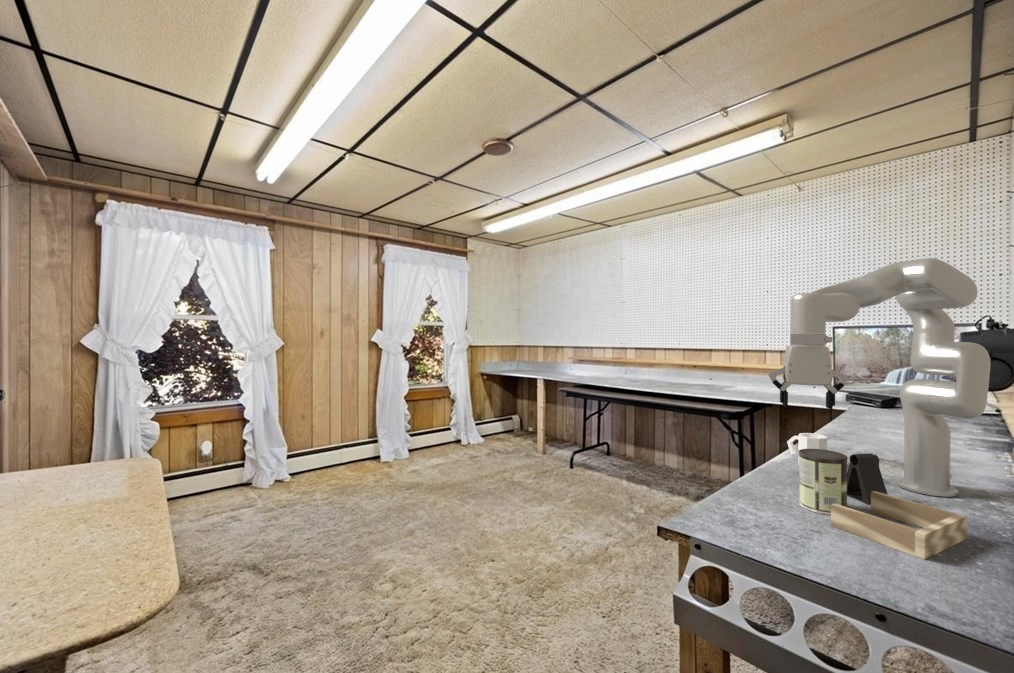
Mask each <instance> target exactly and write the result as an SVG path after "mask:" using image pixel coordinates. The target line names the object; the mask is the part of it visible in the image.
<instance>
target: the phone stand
mask: <svg viewBox="0 0 1014 673" xmlns="http://www.w3.org/2000/svg"><path fill="white" fill-rule="evenodd" d="M881 472H882V471H881V468H880V458H879V456H878V454H874V453H859V454H858V453H855V454H851V455H850V456H849V465H848V467H847V497H850V498H852V499H854V500H857V501H859V502H860V503H863V504H866V505H869V506H871V492H872V491H876V492H880V493H883V494H887V495H889V493H888V491H887V488H886V485H885V481H884V479H883V474H882V473H881Z"/></svg>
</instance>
